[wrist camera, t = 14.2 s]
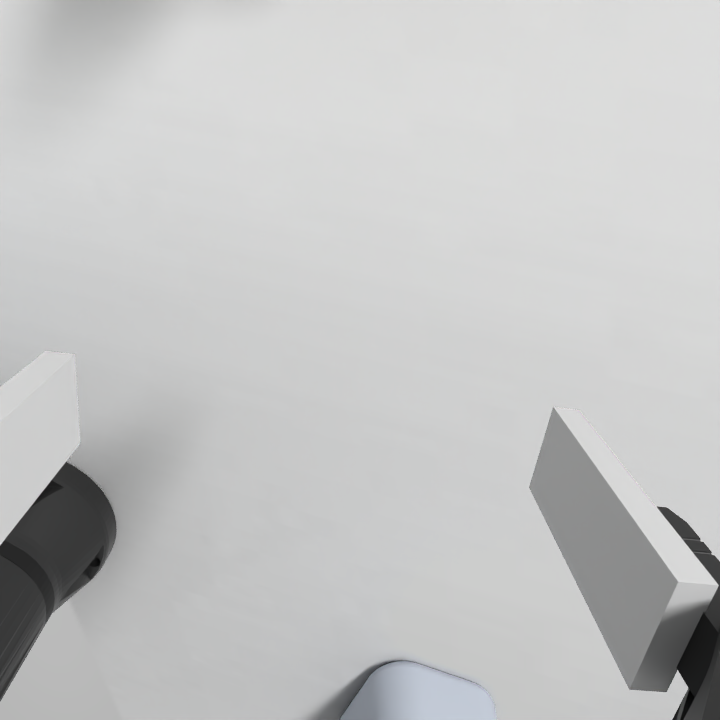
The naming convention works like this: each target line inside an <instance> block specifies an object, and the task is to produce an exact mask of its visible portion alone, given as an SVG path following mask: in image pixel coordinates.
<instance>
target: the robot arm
mask: <svg viewBox="0 0 720 720" xmlns="http://www.w3.org/2000/svg"><path fill="white" fill-rule="evenodd" d="M80 443H81V441H80V425H79V408H78V391H77V375H76V358H75V354H71V353H62V352H53V351H44V352H43V353H42V354H41V355H39V356H38V357H37V358H36V359H34V360H33V361H32V362H31V363H29V364H28V365H27V366H26V367H24V368H23V369H22V370H21V371H20V372H18V373H17V374H16V375H15V376H13V377H12V378H11V379H10V380H8V381H7V382H6V383H5V384H3V385H2V386H1V387H0V701H1V699H2V698H3V696H4V694H5V692H6V691H7V689H8V687H9V686H10V684H11V682H12V681H13V679H14V677H15V675H16V674H17V672H18V670H19V668H20V667H21V665H22V663H23V662H24V660H25V658H26V657H27V655H28V653H29V651H30V650H31V648H32V646H33V645H34V643H35V641H36V640H37V638H38V636H39V634H40V633H41V631H42V629H43V627H44V626H45V624H46V622H47V621H48V619H49V617H50V616H51V614H52V613H53V612H54V611H55V610H56V609H58V608H59V607H60V606H61V605H62V604H63V603H65V602H66V601H67V600H68V599H69V598H71V597H72V596H73V595H74V594H75V593H77V592H78V591H79V590H80V589H81V588H82V587H84V586H85V585H86V584H87V583H88V582H89V581H91V580H92V579H93V578H94V577H95V576H96V574H97V573H98V572H99V571H100V569H101V568H102V566H103V564H104V563H105V561H106V559H107V557H108V555H109V554H110V552H111V550H112V548H113V545H114V542H115V538H116V521H115V516H114V513H113V510H112V507H111V505H110V503H109V501H108V499H107V498H106V496H105V495H104V493H103V492H102V491H101V489H100V488H99V487H98V486H97V485H96V484H95V483H94V482H93V481H92V480H91V479H90V478H89V477H88V476H87V475H85V474H84V473H83V472H81V471H80V470H78V469H77V468H75V467H74V466H72V465H70V464H68V463H66V461H67V460H68V459H69V457H70V456H71V455H72V453H73V452H74V451H75V450H76V448H77V447H78V446H79V445H80ZM529 488H530V490H531V492H532V494H533V496H534V498H535V500H536V502H537V504H538V506H539V508H540V510H541V512H542V514H543V516H544V518H545V520H546V522H547V524H548V526H549V528H550V530H551V532H552V534H553V536H554V539H555V541H556V543H557V545H558V547H559V549H560V551H561V553H562V555H563V557H564V559H565V561H566V563H567V565H568V567H569V569H570V571H571V573H572V575H573V577H574V579H575V581H576V583H577V585H578V587H579V589H580V591H581V593H582V595H583V597H584V599H585V601H586V603H587V605H588V607H589V609H590V611H591V613H592V615H593V617H594V619H595V621H596V623H597V625H598V627H599V629H600V631H601V633H602V635H603V637H604V639H605V641H606V643H607V645H608V647H609V649H610V651H611V653H612V655H613V657H614V659H615V661H616V663H617V665H618V667H619V670H620V672H621V674H622V676H623V678H624V680H625V682H626V684H627V686H628V688H629V689H631V690H645V691H659V692H667V690H668V688H669V686H670V684H671V682H672V680H673V678H674V676H675V674H676V672H677V670H678V671H679V673H680V674H681V676H682V678H683V679H684V681H685V683H686V684H687V686H688V690H687V692H686V694H685V696H684V698H683V700H682V702H681V704H680V706H679V708H678V710H677V712H676V714H675V716H674V718H673V720H720V562H719V560H718V559H717V558H716V557H715V556H714V555H711V551H710V550H709V548H708V547H707V546H706V545H705V544H704V542H701V541H700V538H699V536H698V535H697V534H696V533H695V532H694V530H693V529H692V528H691V527H690V526H689V524H688V523H687V522H685V521H684V520H683V519H681V518H680V517H679V516H677V515H676V514H675V513H673V512H672V511H671V510H669V509H668V508H666V507H656V506H655V504H654V503H653V502H652V501H651V499H650V498H649V497H648V495H647V494H646V493H645V492H644V490H643V489H642V488H641V487H640V485H639V484H638V483H637V482H636V480H635V479H634V478H633V477H632V475H631V474H630V473H629V472H628V470H627V469H626V468H625V467H624V465H623V464H622V463H621V461H620V460H619V459H618V458H617V456H616V455H615V454H614V453H613V451H612V450H611V449H610V448H609V446H608V445H607V444H606V443H605V441H604V440H603V439H602V438H601V436H600V435H599V434H598V432H597V431H596V430H595V429H594V427H593V426H592V425H591V424H590V422H589V421H588V420H587V419H586V417H585V416H584V415H583V414H582V412H581V411H580V410H578V409H569V408H560V407H553V410H552V413H551V416H550V420H549V423H548V426H547V430H546V433H545V436H544V440H543V443H542V446H541V450H540V453H539V456H538V460H537V463H536V466H535V470H534V473H533V476H532V480H531V483H530V486H529Z"/></svg>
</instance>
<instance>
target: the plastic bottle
mask: <svg viewBox="0 0 720 720" xmlns="http://www.w3.org/2000/svg"><path fill="white" fill-rule="evenodd" d="M340 720H497V716H496V710H495V705H494V702H493V699H492V697H491V696H490V694H489V693H488V692H487V691H486V690H485V689H484V688H483V687H481V686H480V685H478V684H476V683H474V682H471V681H468V680H465V679H462V678H459V677H456V676H453V675H450V674H447V673H444V672H441V671H439V670H436V669H433V668H430V667H427V666H424V665H421V664H418V663H414V662H409V661H398V662H392V663H388V664H386V665H383V666H381V667H380V668H378V669H377V670H375V671H374V672H373V673H372V674H371V675H370V676H369V678H368V679H367V681H366V682H365V683H364V685H363V686H362V688H361V689H360V691H359V692H358V694H357V695H356V696H355V698H354V699H353V701H352V702H351V704H350V705H349V706H348V708H347V709H346V711H345V712H344V714H343V715H342V717H341V718H340Z"/></svg>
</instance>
